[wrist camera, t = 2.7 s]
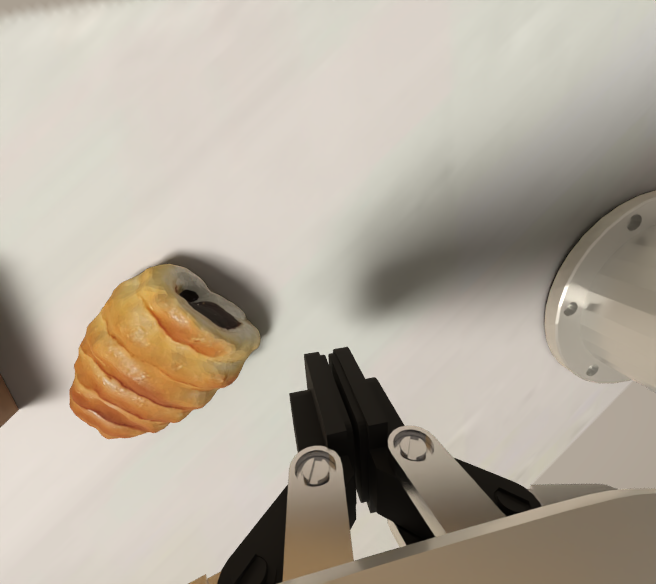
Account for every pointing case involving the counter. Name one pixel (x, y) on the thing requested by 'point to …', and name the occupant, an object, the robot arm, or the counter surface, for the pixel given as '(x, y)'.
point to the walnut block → (6, 403)
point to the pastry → (158, 353)
